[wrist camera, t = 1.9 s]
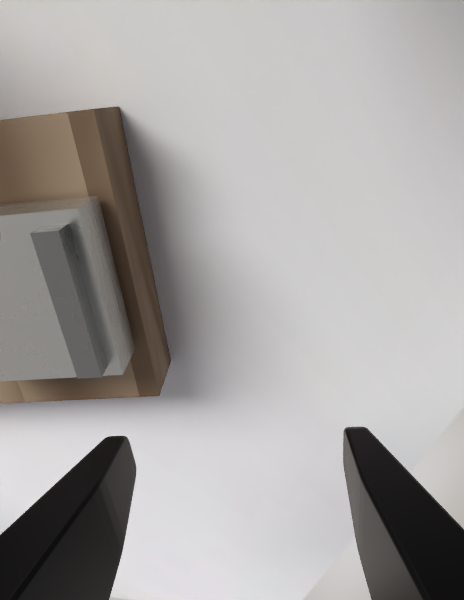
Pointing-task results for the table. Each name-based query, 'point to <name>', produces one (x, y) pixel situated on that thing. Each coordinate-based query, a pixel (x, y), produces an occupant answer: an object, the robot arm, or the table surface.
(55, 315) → the panel
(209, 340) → the table surface
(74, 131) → the socket board
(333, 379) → the table surface
